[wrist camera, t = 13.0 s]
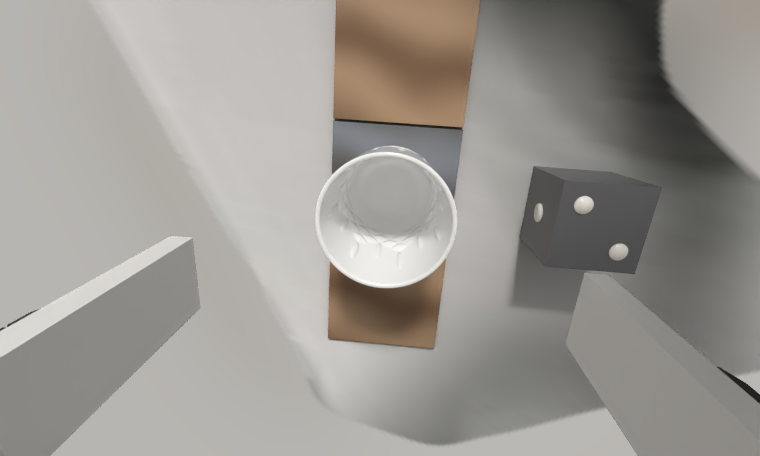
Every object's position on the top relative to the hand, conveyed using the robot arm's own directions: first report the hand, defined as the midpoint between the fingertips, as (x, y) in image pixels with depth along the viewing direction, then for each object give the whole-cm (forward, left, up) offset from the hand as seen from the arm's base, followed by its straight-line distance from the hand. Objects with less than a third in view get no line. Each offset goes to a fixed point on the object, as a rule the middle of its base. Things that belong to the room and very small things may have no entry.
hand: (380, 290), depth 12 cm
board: (0, 0, -19) cm, 19 cm away
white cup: (0, 0, -18) cm, 18 cm away
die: (+1, +14, -19) cm, 23 cm away
